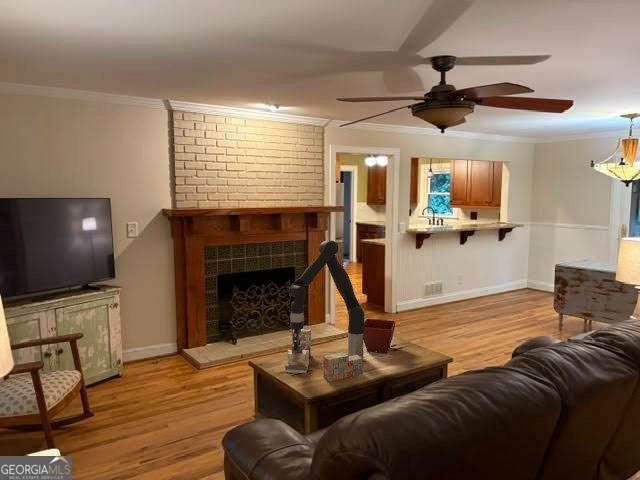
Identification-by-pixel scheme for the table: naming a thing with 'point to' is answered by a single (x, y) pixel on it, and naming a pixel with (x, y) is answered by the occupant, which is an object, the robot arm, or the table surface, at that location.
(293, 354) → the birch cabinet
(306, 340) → the candy bar box
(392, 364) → the table surface
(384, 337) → the plant pot
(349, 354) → the robot arm
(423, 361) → the table surface
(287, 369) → the cleat board
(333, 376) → the stack of blocks
